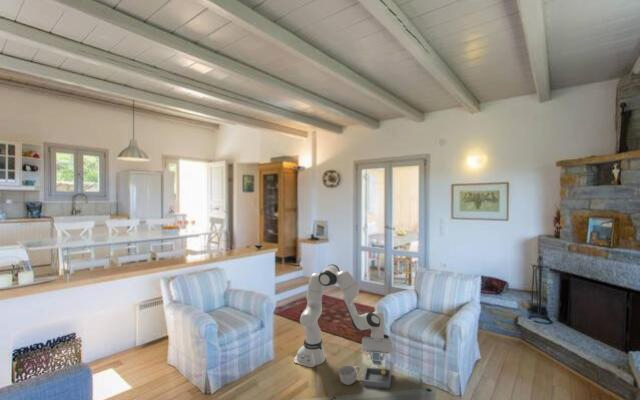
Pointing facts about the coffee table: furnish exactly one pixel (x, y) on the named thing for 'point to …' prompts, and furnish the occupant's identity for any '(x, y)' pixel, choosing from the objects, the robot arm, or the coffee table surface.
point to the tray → (377, 378)
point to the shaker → (376, 358)
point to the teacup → (348, 374)
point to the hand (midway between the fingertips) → (376, 359)
